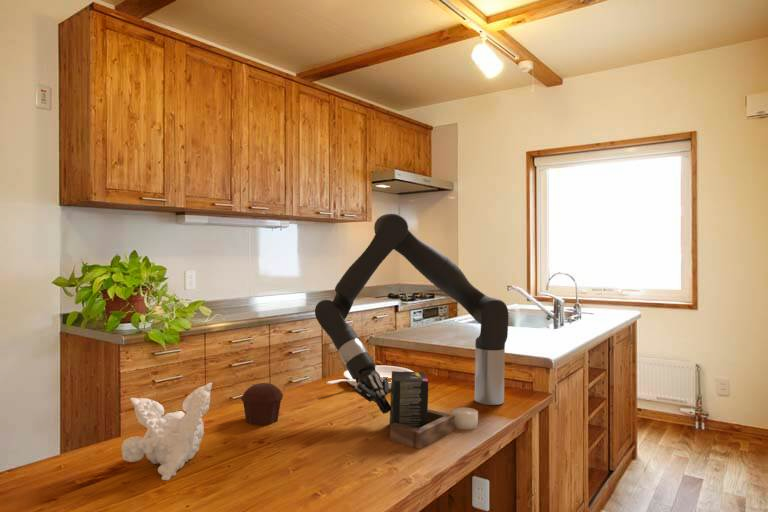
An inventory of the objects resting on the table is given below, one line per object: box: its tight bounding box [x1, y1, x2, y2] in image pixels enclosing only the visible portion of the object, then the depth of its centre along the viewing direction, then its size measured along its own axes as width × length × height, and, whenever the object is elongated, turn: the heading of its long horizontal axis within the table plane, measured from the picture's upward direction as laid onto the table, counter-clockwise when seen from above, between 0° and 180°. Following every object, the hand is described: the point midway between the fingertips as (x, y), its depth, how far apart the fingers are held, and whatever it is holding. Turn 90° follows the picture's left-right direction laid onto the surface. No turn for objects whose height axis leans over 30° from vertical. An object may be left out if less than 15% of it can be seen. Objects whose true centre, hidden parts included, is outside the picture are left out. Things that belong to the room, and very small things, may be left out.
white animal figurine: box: [121, 382, 213, 481], centre depth 117 cm, size 19×20×20 cm
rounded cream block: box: [451, 406, 479, 431], centre depth 144 cm, size 7×7×4 cm
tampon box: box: [389, 371, 429, 429], centre depth 139 cm, size 11×9×15 cm
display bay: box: [389, 408, 456, 450], centre depth 135 cm, size 17×9×4 cm, turn 142°
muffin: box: [240, 382, 284, 426], centre depth 146 cm, size 12×11×10 cm
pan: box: [326, 365, 414, 391], centre depth 184 cm, size 26×39×5 cm
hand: (387, 411), depth 141 cm, fingers closed
